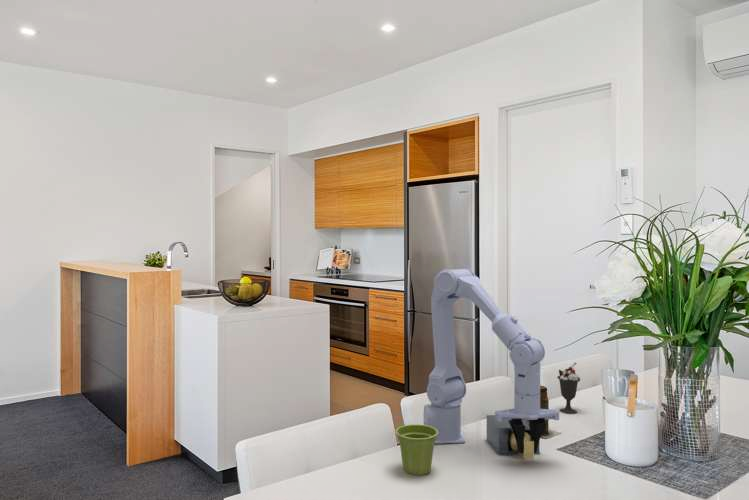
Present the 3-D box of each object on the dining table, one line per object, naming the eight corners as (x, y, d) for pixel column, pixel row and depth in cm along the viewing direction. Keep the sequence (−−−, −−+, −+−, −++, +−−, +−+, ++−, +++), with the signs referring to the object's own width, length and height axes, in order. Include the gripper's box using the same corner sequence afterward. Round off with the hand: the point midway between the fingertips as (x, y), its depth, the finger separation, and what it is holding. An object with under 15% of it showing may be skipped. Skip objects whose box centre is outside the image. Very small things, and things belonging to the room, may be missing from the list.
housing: (498, 454, 130) (498, 428, 130) (486, 440, 140) (486, 415, 140) (539, 453, 131) (539, 427, 131) (524, 439, 141) (524, 414, 141)
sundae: (583, 414, 161) (584, 364, 161) (561, 414, 161) (561, 364, 161) (575, 408, 168) (576, 359, 168) (553, 408, 168) (554, 359, 168)
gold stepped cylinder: (517, 461, 124) (517, 439, 124) (499, 441, 137) (499, 420, 137) (539, 461, 124) (540, 438, 124) (519, 440, 138) (519, 420, 137)
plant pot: (409, 482, 115) (409, 441, 115) (387, 466, 123) (388, 427, 123) (446, 473, 119) (446, 434, 119) (423, 459, 127) (423, 421, 127)
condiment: (533, 425, 152) (533, 382, 152) (560, 433, 145) (561, 388, 145) (517, 430, 147) (518, 386, 147) (545, 439, 141) (545, 393, 141)
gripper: (502, 397, 121) (501, 458, 121) (565, 396, 122) (564, 456, 122) (492, 389, 128) (492, 447, 128) (552, 388, 129) (551, 445, 129)
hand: (526, 451), depth 125 cm, fingers closed on gold stepped cylinder, 2 cm apart
